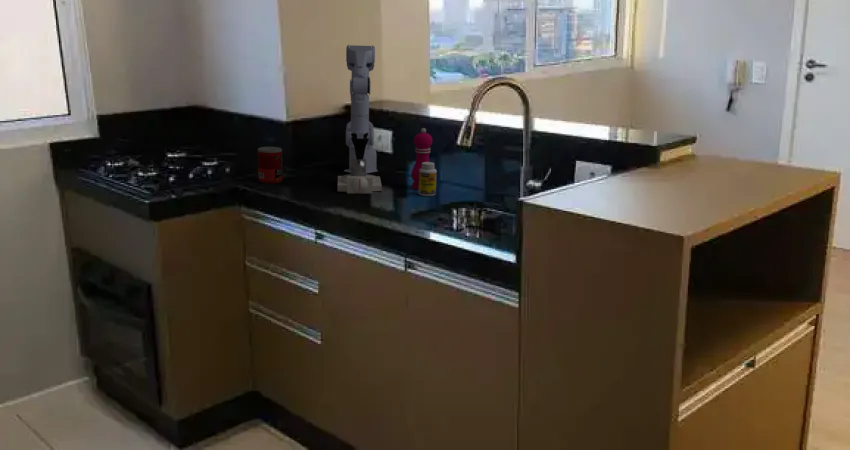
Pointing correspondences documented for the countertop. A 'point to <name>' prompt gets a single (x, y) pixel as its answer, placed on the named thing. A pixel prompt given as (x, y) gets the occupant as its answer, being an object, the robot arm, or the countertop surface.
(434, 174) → the supplement bottle
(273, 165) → the canned food
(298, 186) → the countertop surface
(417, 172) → the pepper mill
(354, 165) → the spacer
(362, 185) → the scale
